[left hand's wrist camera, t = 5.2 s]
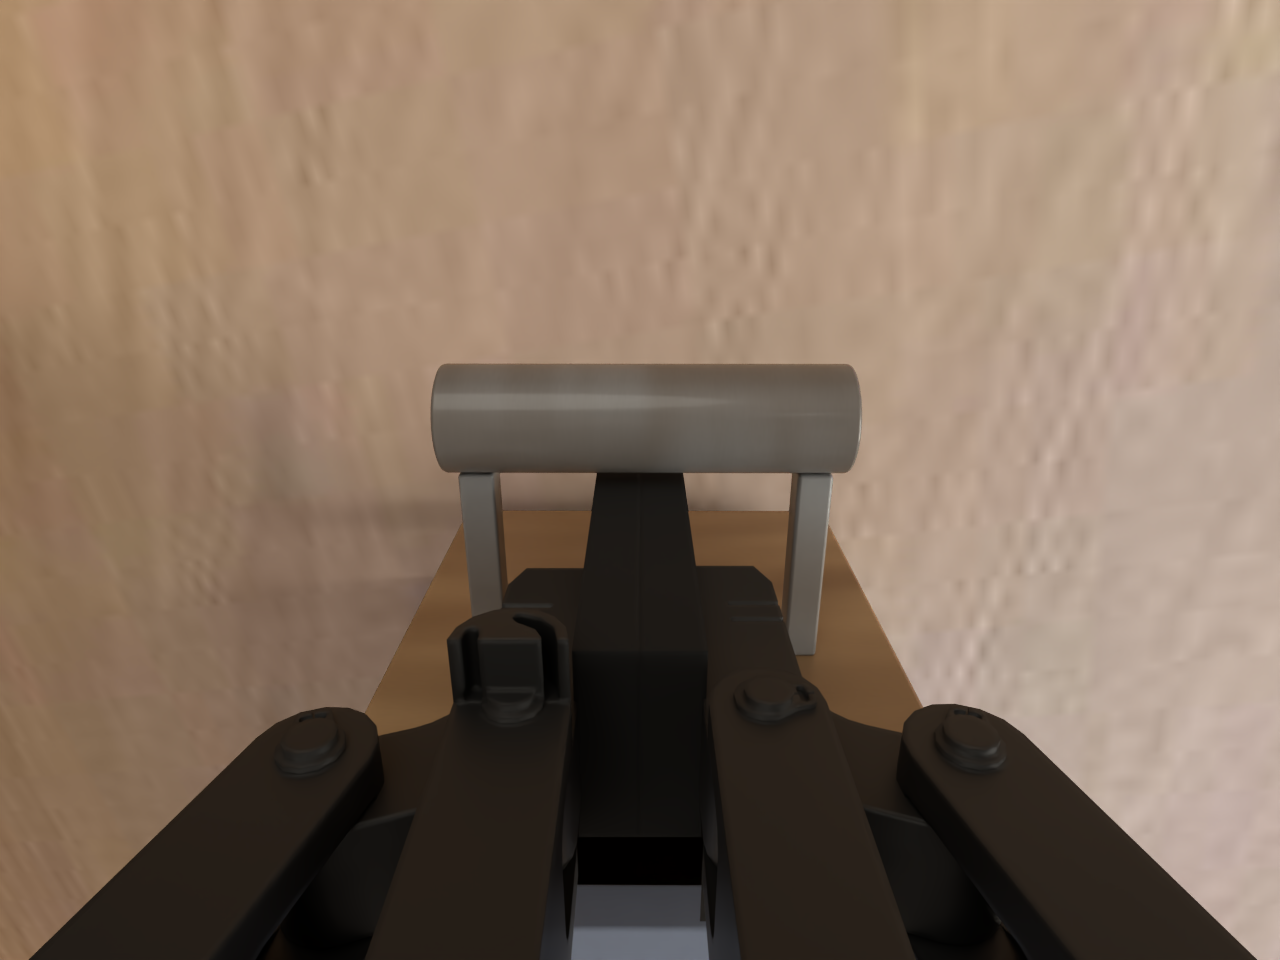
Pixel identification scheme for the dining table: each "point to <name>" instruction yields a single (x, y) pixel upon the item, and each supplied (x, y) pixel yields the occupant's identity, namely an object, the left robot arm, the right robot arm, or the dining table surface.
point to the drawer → (768, 540)
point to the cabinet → (639, 923)
